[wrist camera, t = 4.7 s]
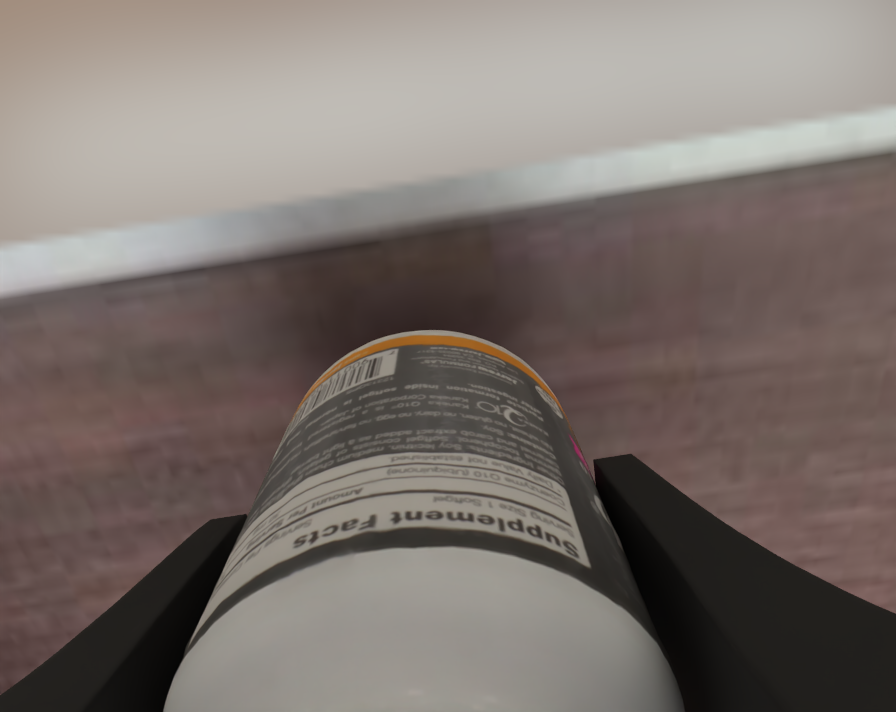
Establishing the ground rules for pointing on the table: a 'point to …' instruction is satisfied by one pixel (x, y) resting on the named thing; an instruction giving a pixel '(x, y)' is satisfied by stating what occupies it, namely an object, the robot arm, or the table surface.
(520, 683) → the pill bottle
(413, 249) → the table surface
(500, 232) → the table surface
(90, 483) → the table surface
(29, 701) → the robot arm
